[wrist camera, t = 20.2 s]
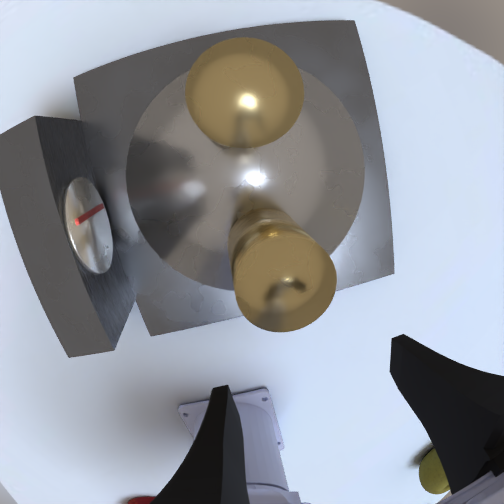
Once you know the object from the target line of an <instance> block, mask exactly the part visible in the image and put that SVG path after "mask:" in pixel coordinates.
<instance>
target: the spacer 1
mask: <svg viewBox="0 0 504 504" xmlns="http://www.w3.org/2000/svg"><path fill="white" fill-rule="evenodd" d="M185 98H186V104H187V108H188V110H189V113H190V115H191V117H192V119H193V121H194V122H195V123H196V125H197V126H198V127H199V129H200V130H201V131H202V132H203V133H204V134H205V135H206V136H207V137H208V138H209V139H210V140H212V141H214V142H215V143H218V144H220V145H223V146H228V147H235V148H255V147H260V146H264V145H267V144H269V143H272V142H274V141H276V140H277V139H279V138H280V137H282V136H283V135H284V134H285V133H287V132H288V131H289V130H290V129H291V127H292V126H293V125H294V124H295V122H296V121H297V119H298V117H299V115H300V113H301V110H302V107H303V102H304V85H303V80H302V77H301V74H300V72H299V70H298V68H297V66H296V65H295V63H294V62H293V60H292V59H291V58H290V57H289V56H288V55H287V54H286V53H285V52H284V51H283V50H281V49H280V48H278V47H277V46H275V45H273V44H271V43H269V42H267V41H264V40H261V39H256V38H248V37H241V38H232V39H228V40H225V41H222V42H219V43H217V44H215V45H213V46H212V47H210V48H209V49H207V50H206V51H205V52H203V53H202V54H201V55H200V56H199V57H198V59H197V60H196V61H195V63H194V64H193V66H192V68H191V69H190V72H189V74H188V77H187V81H186V87H185Z"/></svg>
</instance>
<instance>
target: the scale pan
mask: <svg viewBox="0 0 504 504" xmlns="http://www.w3.org/2000/svg"><path fill="white" fill-rule="evenodd" d="M297 68H298V67H297ZM298 70H299V72H300V74H301V77H302V80H303V85H304V102H303V107H302V110H301V113H300V115H299V117H298V119H297V121H296V122H295V124H294V125H293V126H292V127H291V129H290V130H289V131H288V132H287V133H285V134H284V135H283V136H282V137H280V138H279V139H277V140H276V141H274V142H272V143H269V144H267V145H264V146H260V147H255V148H235V147H228V146H223V145H220V144H218V143H215V142H214V141H212V140H210V139H209V138H208V137H207V136H206V135H205V134H204V133H203V132H202V131H201V130H200V129H199V127H198V126H197V125H196V123H195V122H194V121H193V119H192V117H191V115H190V113H189V110H188V108H187V104H186V98H185V87H186V81H187V77H188V74H189V72H190V70H189V71H187V72H185V73H184V74H182V75H180V76H179V77H177V78H176V79H175V80H173V81H172V82H171V83H170V84H168V85H167V86H166V87H165V88H164V89H163V90H162V91H161V92H160V93H159V94H158V95H157V96H156V97H155V98H154V99H153V100H152V102H151V103H150V104H149V106H148V107H147V109H146V110H145V112H144V113H143V115H142V117H141V119H140V120H139V122H138V124H137V126H136V128H135V131H134V134H133V137H132V140H131V142H130V146H129V151H128V156H127V164H126V185H127V194H128V199H129V203H130V208H131V210H132V213H133V216H134V219H135V221H136V223H137V225H138V227H139V229H140V231H141V233H142V235H143V236H144V238H145V239H146V241H147V242H148V243H149V245H150V246H151V248H152V249H153V250H154V251H155V252H156V253H157V254H158V255H159V256H160V257H161V258H162V260H164V261H165V262H166V263H167V264H168V265H170V266H171V267H172V268H173V269H175V270H176V271H178V272H179V273H181V274H183V275H184V276H186V277H188V278H190V279H192V280H194V281H196V282H199V283H201V284H204V285H207V286H210V287H213V288H218V289H223V290H229V291H234V285H233V279H232V273H231V267H230V261H229V255H228V248H227V242H228V236H229V233H230V231H231V229H232V227H233V225H234V224H235V223H236V221H237V220H238V219H239V218H240V217H241V216H243V215H244V214H246V213H248V212H249V211H252V210H254V209H258V208H274V209H277V210H280V211H282V212H284V213H286V214H287V215H288V216H290V217H291V218H292V219H293V220H294V221H295V222H296V223H297V224H298V225H299V226H300V227H301V228H302V229H303V230H304V231H306V232H307V233H308V234H309V235H310V236H311V237H312V238H313V239H314V240H315V241H316V242H317V243H318V244H319V245H320V246H321V247H322V248H323V249H324V250H325V251H326V252H327V253H328V255H329V256H330V255H331V254H332V253H333V252H334V251H335V250H336V249H337V247H338V246H339V245H340V243H341V242H342V241H343V240H344V238H345V237H346V235H347V233H348V232H349V230H350V228H351V226H352V224H353V222H354V220H355V218H356V215H357V213H358V210H359V206H360V203H361V200H362V195H363V189H364V178H365V166H364V155H363V150H362V146H361V141H360V138H359V135H358V132H357V130H356V127H355V125H354V123H353V121H352V119H351V117H350V115H349V113H348V111H347V110H346V109H345V107H344V106H343V104H342V103H341V101H340V100H339V99H338V98H337V97H336V96H335V94H334V93H333V92H332V91H331V90H330V89H329V88H328V87H327V86H325V85H324V84H323V83H322V82H321V81H319V80H318V79H317V78H316V77H314V76H312V75H311V74H309V73H308V72H306V71H304V70H303V69H300V68H298Z"/></svg>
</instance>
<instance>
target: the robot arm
mask: <svg viewBox="0 0 504 504" xmlns="http://www.w3.org/2000/svg"><path fill="white" fill-rule="evenodd" d="M390 373H391V375H392V377H393V379H394V381H395V383H396V385H397V387H398V389H399V391H400V392H401V394H402V395H403V397H404V398H405V400H406V401H407V402H408V404H409V405H410V407H411V408H412V410H413V411H414V413H415V414H416V415H417V417H418V418H419V420H420V421H421V423H422V424H423V426H424V428H425V429H426V431H427V433H428V435H429V437H430V439H431V441H432V443H433V446H434V448H435V450H436V452H437V455H438V457H439V459H440V462H441V464H442V467H443V469H444V472H445V475H446V477H447V480H448V484H449V487H450V490H451V493H452V495H451V496H449V497H448V498H446V499H444V500H442V501H440V502H438V503H436V504H504V376H501V375H496V374H491V373H487V372H483V371H480V370H477V369H474V368H471V367H468V366H465V365H463V364H460V363H458V362H456V361H453V360H451V359H449V358H447V357H445V356H443V355H441V354H439V353H437V352H435V351H433V350H431V349H430V348H428V347H426V346H424V345H422V344H421V343H419V342H417V341H415V340H414V339H412V338H410V337H408V336H406V335H404V334H402V335H399V336H397V337H394V338H392V341H391V360H390ZM264 397H266V398H264ZM178 412H179V414H180V416H181V418H182V419H183V421H184V423H185V425H186V426H187V428H188V430H189V432H190V433H191V435H192V437H193V438H194V442H193V444H192V446H191V448H190V450H189V452H188V454H187V455H186V457H185V459H184V461H183V462H182V464H181V465H180V467H179V468H178V470H177V471H176V473H175V474H174V476H173V477H172V478H171V480H170V481H169V482H168V483H167V485H166V486H165V487H164V488H163V489H162V491H161V492H160V493H159V494H158V495H157V496H156V497H155V498H154V499H153V500H152V501H151V502H150V503H149V504H310V503H307V502H304V503H301V501H300V497H299V493H298V492H289V488H288V484H287V480H286V476H285V472H284V468H283V464H282V460H281V455H280V451H281V450H283V449H284V444H283V440H282V437H281V433H280V430H279V426H278V423H277V419H276V415H275V412H274V408H273V405H272V401H271V397H270V394H269V391H268V390H267V389H259V390H255V391H251V392H246V393H242V394H237V395H233V396H232V394H231V392H230V389H229V386H228V385H225V386H220V387H215V388H213V389H212V392H211V396H210V400H207V401H202V402H196V403H190V404H184V405H180V406H179V407H178ZM185 413H187V414H185Z"/></svg>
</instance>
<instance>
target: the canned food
mask: <svg viewBox="0 0 504 504" xmlns="http://www.w3.org/2000/svg"><path fill="white" fill-rule="evenodd" d="M154 498H155V497H152V496H145V497H136V498H133V499H131V500H129V502H128V504H149V503H150V502H151V501H152V500H153V499H154Z"/></svg>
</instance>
